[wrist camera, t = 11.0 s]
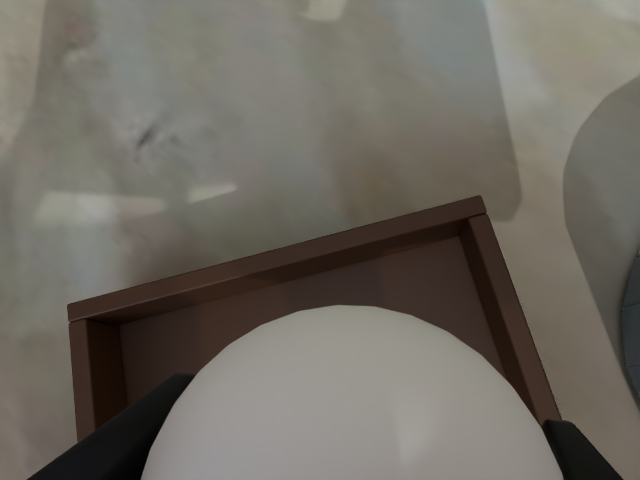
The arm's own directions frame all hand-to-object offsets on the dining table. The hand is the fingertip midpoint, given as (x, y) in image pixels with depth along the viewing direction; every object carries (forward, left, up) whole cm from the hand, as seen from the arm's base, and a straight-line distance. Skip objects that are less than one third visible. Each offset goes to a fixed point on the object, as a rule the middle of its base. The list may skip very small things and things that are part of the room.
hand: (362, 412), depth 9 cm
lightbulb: (-1, 0, -7) cm, 7 cm away
